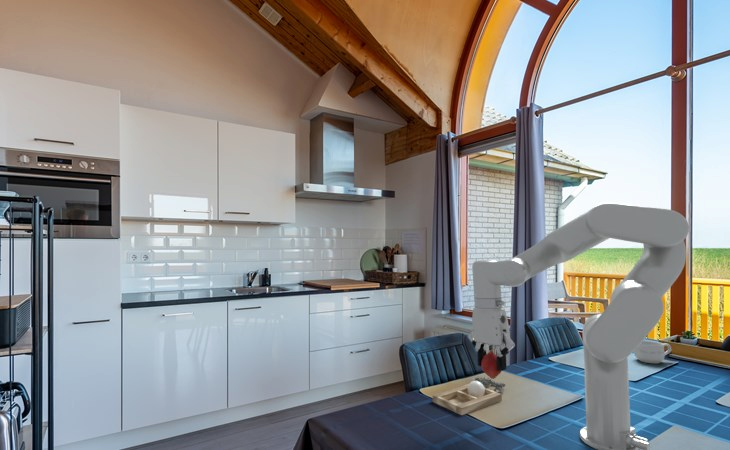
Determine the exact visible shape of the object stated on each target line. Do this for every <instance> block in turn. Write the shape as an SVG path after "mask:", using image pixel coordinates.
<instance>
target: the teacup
mask: <svg viewBox="0 0 730 450" xmlns="http://www.w3.org/2000/svg"><path fill="white" fill-rule="evenodd" d="M665 346H666V347H667V350H666V351H665ZM671 352H672V346H671V345H670V344H669V343H666V342H664V343H663V342H659V341H653V340H643V341H642V342H641V343H640V345H639V346H638V347H637V348H636V349H635V350H634V351H633V355H634V356H635V358H636V359H637V360H639V361H640V362H642V363H647V364H660V363H661V362H663V361H664V359H665V356H667V355H668V354H670V353H671Z"/></svg>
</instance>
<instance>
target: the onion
mask: <svg viewBox="0 0 730 450" xmlns="http://www.w3.org/2000/svg"><path fill="white" fill-rule="evenodd" d="M497 356H498V354H497V353H496V354H495V353H494V350H492V349H490V350H489V352H486V355H485V356H484V358H483V359H482V362H481V366H480V367H481V370H482V372H483V373H485V375H487V376H488V378H489V379H491V380H495V379H496V378H497V377H498V376H499V375H500V374H501V373H502V371H498V370H497V360H496V357H497Z"/></svg>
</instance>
